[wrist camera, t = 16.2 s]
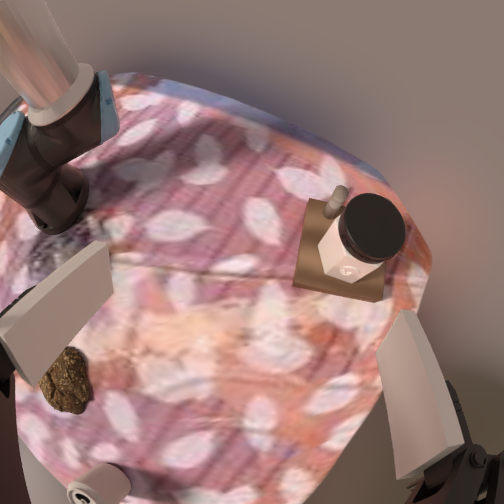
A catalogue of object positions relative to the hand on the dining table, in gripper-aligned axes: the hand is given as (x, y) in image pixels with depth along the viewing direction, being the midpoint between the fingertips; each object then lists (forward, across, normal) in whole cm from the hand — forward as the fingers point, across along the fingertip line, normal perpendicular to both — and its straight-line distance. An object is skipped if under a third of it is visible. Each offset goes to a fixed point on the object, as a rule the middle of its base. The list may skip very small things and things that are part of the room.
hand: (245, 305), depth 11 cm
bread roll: (+8, -29, -35) cm, 46 cm away
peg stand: (+31, +12, -10) cm, 35 cm away
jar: (+28, +12, -10) cm, 32 cm away
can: (-3, -17, -46) cm, 49 cm away
